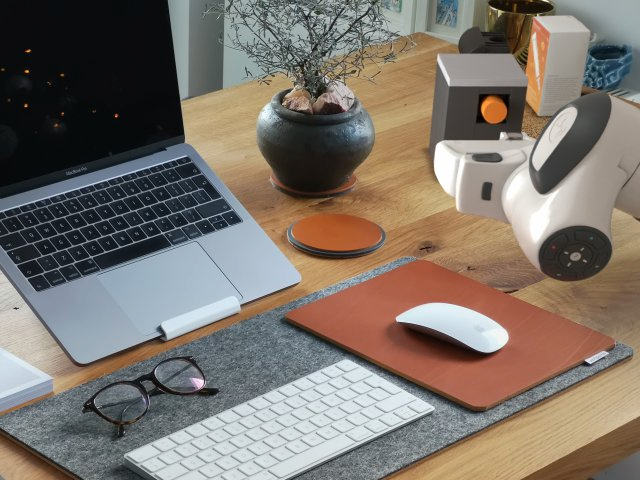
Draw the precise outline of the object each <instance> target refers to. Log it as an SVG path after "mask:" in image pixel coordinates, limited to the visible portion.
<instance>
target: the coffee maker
mask: <svg viewBox="0 0 640 480" xmlns="http://www.w3.org/2000/svg"><path fill="white" fill-rule="evenodd" d="M435 68H436V69H435V77H434V91H433V99H432V100H433V101H432V112H431V121H430V134H429V141H428V142H429V143H428V152H429V155H430V158H431V161H432V163H433V164H434V159H435V150H436V145H437V144H438V143H439V142H441V141H444V140H499V139H500V134H501V132H522V131H523V122H524V115H525V110H526V109H525V108H526V102H527V101H526V94H527V86H528V80H529V79H528V78H527V76H526V72H525V71H524V70H523V69H522V67H521V65H520V64H519V62H518V60H517V59H516V57H515V56H514V54H513V53H510V54H460V53H437V59H436V67H435ZM491 94H495V95H498V96H499V97H501V99H502V100H503V102H504V104H505V106H506V108H507V115H506V117H505V118H504V120H502V121H501V122H499V123H495V124H492V123H489V122H487V121H486V120H485V118H484V116H483V114H482V112H481V110H480V103H481V101H482V99H483V98H484V97H486V96H488V95H491Z"/></svg>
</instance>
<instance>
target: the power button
mask: <svg viewBox="0 0 640 480" xmlns="http://www.w3.org/2000/svg"><path fill="white" fill-rule="evenodd" d="M480 110H481V112H482V114H483V116H484V118H485V120H486V121H487V122H489V123H492V124H495V123H499V122H501V121H502V120H504V118H505V117H506V115H507V108H506V106H505V104H504V102H503V100H502V99H501V97H499V96H498V95H495V94H491V95H488V96H486V97H484V98H483V99H482V101H481V103H480Z"/></svg>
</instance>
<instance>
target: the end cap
mask: <svg viewBox="0 0 640 480" xmlns="http://www.w3.org/2000/svg"><path fill="white" fill-rule="evenodd" d="M506 38H507V36H506V34H505V32H504V31H481V28H480V26H479V25H478V26H473V27H470V28H467V29H466V30H465V31H464V32H462V34H461V36H460V37H459V39H458V43H457V48H458V52H459V53H458V54H511V46H510V43H509V42H507V41H505V40H506Z"/></svg>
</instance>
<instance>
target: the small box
mask: <svg viewBox="0 0 640 480" xmlns="http://www.w3.org/2000/svg"><path fill="white" fill-rule="evenodd" d="M591 33H592V31H591V30H590V29H589V28H588V27H586V26H585V24H584V23H583V22H581V21H580V20H579V19H577V18H576V17H575V16H574V15H567V14H565V15H540V16H533V17H532V24H531V33H530V40H529V46H528V53H527V61H526V67H525V75H526V76H527V78H528V79H529V80H528V86H527V94H526V101H525V102H526V103H527V104H528V106H530V107H531V109H532V110H533V111H534V112H535V113H536V115H537V116H538V117H552V116H553V115H554V114H555V113H556V112H557V111H558V110H559V109H560V108H562V107H563V106H565V105H566V104H568V103H570V102H572V101H573V100H575V99H577V98H579V97H582V90H583V84H584V77H585V73H586V72H585V71H586V64H587V59H588V53H589V46H590V41H591V40H590V39H591Z"/></svg>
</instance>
